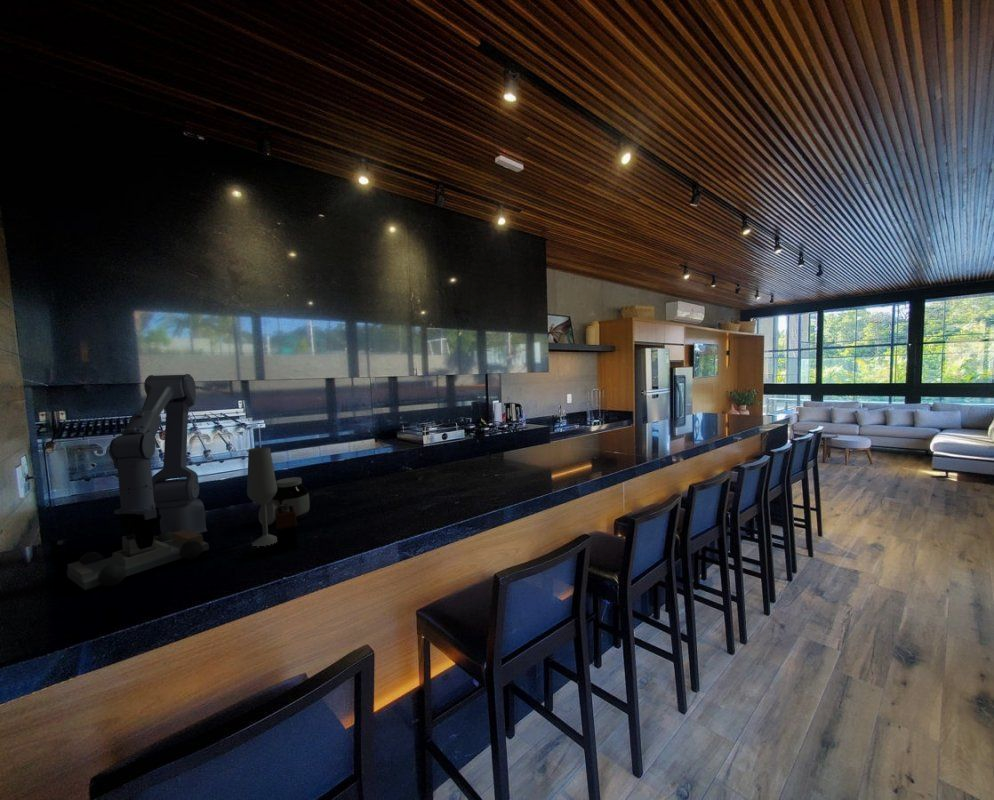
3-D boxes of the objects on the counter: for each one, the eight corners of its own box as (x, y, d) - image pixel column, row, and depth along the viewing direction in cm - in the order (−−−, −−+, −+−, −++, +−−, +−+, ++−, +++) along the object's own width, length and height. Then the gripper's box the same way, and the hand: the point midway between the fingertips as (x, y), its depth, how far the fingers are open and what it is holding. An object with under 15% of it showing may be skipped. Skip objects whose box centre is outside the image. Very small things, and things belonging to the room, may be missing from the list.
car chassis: (184, 541, 108) (183, 526, 108) (212, 552, 100) (211, 536, 99) (65, 577, 89) (63, 559, 89) (87, 594, 81) (85, 574, 81)
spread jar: (314, 514, 127) (311, 476, 126) (292, 527, 116) (289, 486, 115) (277, 514, 128) (275, 477, 127) (252, 527, 117) (249, 486, 116)
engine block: (148, 551, 97) (146, 527, 97) (156, 554, 95) (154, 530, 94) (123, 558, 93) (121, 533, 93) (130, 562, 91) (128, 537, 91)
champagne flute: (253, 539, 107) (247, 448, 106) (282, 535, 110) (276, 445, 108) (248, 549, 101) (240, 452, 100) (278, 544, 103) (272, 449, 102)
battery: (296, 539, 106) (293, 501, 105) (298, 548, 100) (295, 508, 99) (277, 543, 104) (274, 504, 103) (278, 552, 98) (275, 511, 97)
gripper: (101, 487, 94) (107, 546, 95) (125, 495, 86) (130, 558, 87) (140, 480, 100) (145, 535, 101) (165, 486, 92) (170, 546, 93)
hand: (141, 545), depth 94 cm, fingers open, 5 cm apart
